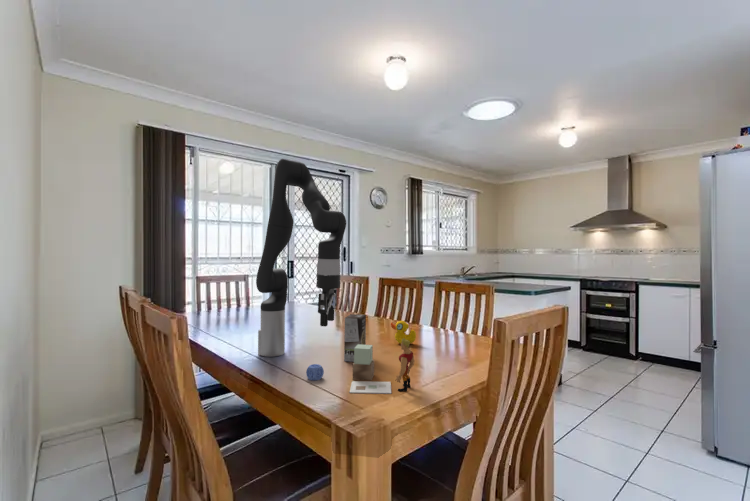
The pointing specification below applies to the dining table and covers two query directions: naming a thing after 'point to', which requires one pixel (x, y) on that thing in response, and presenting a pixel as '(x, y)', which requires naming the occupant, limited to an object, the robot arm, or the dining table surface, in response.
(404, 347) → the action figure
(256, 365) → the dining table surface
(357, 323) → the coffee box
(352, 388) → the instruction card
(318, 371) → the decorative dice
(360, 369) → the base block
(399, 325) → the duckling
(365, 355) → the sage cube
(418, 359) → the dining table surface
